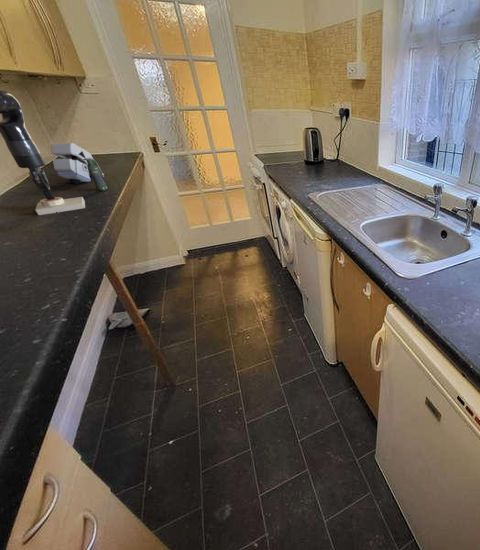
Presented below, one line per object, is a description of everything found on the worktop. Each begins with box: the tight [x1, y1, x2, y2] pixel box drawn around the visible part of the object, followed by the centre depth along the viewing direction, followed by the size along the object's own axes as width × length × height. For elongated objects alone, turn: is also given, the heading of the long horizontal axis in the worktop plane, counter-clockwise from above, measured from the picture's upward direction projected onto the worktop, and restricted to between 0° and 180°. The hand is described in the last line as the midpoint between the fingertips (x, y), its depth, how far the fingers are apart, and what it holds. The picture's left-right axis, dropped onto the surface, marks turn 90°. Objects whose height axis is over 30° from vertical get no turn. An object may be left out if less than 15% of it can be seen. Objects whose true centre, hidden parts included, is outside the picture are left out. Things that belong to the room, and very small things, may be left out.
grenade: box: [83, 157, 108, 192], centre depth 140 cm, size 4×4×15 cm
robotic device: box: [50, 142, 105, 185], centre depth 155 cm, size 10×21×20 cm
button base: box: [35, 196, 86, 216], centre depth 121 cm, size 14×11×4 cm
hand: (51, 199), depth 118 cm, fingers closed
